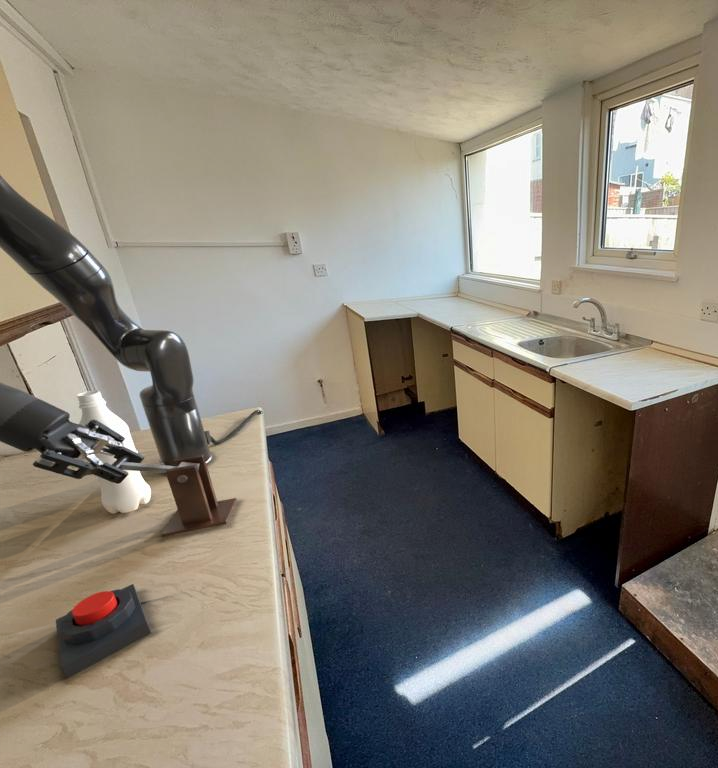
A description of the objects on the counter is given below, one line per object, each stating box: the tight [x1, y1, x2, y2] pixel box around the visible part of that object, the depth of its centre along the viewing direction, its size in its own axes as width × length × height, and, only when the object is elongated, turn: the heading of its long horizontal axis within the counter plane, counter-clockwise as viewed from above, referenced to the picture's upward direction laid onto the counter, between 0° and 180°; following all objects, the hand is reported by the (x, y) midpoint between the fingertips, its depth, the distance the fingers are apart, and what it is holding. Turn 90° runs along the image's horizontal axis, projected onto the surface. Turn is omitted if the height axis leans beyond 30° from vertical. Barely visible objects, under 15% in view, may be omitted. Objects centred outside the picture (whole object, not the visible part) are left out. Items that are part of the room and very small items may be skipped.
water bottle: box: [76, 390, 152, 515], centre depth 77 cm, size 7×7×25 cm
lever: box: [112, 455, 200, 474], centre depth 72 cm, size 12×5×2 cm, turn 111°
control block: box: [55, 583, 152, 679], centre depth 54 cm, size 10×8×4 cm
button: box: [71, 590, 117, 626], centre depth 53 cm, size 4×4×2 cm
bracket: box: [160, 455, 238, 538], centre depth 75 cm, size 10×8×13 cm
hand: (132, 470), depth 70 cm, fingers closed on lever, 5 cm apart
